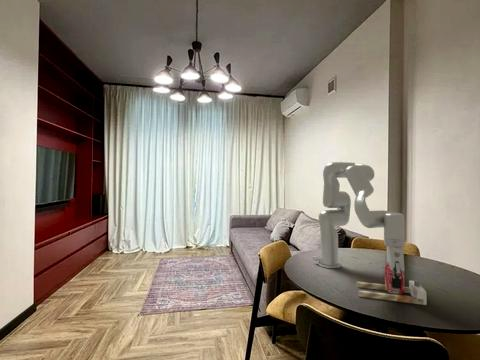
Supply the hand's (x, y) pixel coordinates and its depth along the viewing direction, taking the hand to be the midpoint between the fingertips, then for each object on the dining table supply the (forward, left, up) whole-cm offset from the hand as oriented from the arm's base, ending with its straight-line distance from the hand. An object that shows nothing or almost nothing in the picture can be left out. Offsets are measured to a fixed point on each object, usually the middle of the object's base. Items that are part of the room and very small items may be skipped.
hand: (394, 284), depth 112 cm
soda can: (0, 0, -3) cm, 3 cm away
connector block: (+8, 0, -5) cm, 9 cm away
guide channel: (-3, 0, -5) cm, 5 cm away
